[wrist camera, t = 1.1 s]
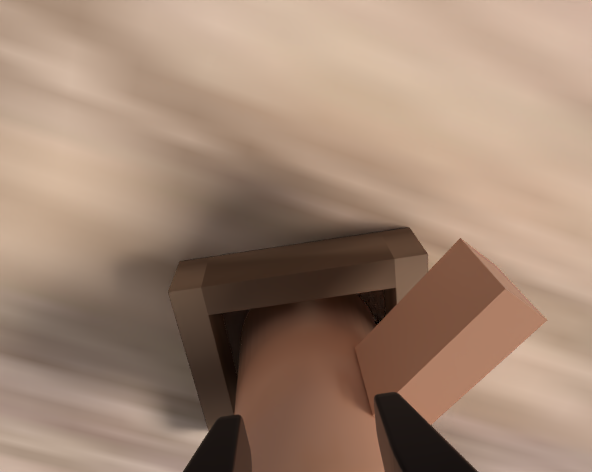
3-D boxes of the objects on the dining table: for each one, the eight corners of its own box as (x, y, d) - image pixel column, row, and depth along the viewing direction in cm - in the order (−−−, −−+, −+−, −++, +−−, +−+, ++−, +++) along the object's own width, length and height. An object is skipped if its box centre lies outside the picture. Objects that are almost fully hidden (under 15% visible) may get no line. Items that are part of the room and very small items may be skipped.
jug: (319, 409, 23) (348, 625, 15) (214, 351, 21) (180, 560, 13) (484, 241, 20) (639, 400, 11) (375, 157, 18) (466, 272, 10)
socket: (416, 403, 23) (432, 442, 21) (225, 430, 23) (221, 473, 21) (409, 227, 19) (427, 254, 17) (179, 261, 19) (168, 292, 17)
